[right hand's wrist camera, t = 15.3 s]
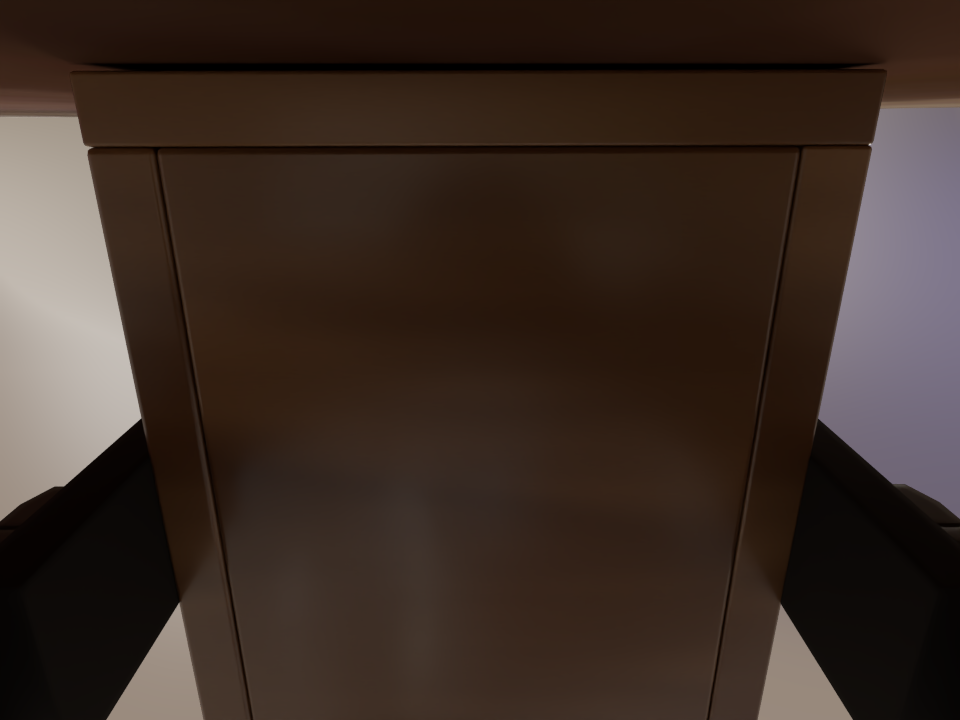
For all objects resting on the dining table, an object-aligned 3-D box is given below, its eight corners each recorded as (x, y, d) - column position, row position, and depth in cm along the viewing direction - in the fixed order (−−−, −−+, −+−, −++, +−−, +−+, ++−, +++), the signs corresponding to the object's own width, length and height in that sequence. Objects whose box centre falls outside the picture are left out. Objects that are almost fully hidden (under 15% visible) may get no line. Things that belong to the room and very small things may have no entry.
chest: (625, 101, 22) (603, 401, 26) (333, 102, 22) (355, 402, 26) (890, 68, 8) (753, 743, 12) (65, 70, 8) (206, 744, 12)
